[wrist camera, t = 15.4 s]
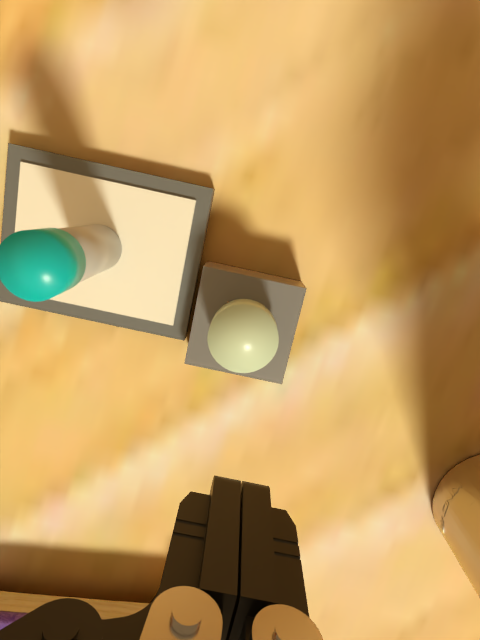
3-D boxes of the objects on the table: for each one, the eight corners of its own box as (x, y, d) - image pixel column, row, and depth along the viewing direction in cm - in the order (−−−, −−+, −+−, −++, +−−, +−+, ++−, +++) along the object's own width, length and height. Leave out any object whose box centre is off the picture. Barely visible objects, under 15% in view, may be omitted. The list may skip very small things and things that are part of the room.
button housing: (301, 281, 32) (306, 288, 29) (279, 369, 33) (281, 384, 30) (207, 261, 31) (203, 266, 28) (190, 350, 33) (184, 363, 30)
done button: (282, 302, 29) (286, 313, 26) (267, 361, 30) (269, 379, 27) (219, 288, 29) (215, 297, 26) (206, 348, 30) (201, 365, 27)
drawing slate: (214, 189, 30) (213, 188, 29) (186, 336, 33) (183, 341, 32) (16, 145, 30) (6, 142, 29) (4, 297, 32) (-5, 301, 31)
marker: (127, 229, 30) (72, 240, 20) (118, 276, 31) (62, 309, 21) (78, 216, 30) (-1, 222, 20) (71, 264, 30) (-9, 291, 21)
